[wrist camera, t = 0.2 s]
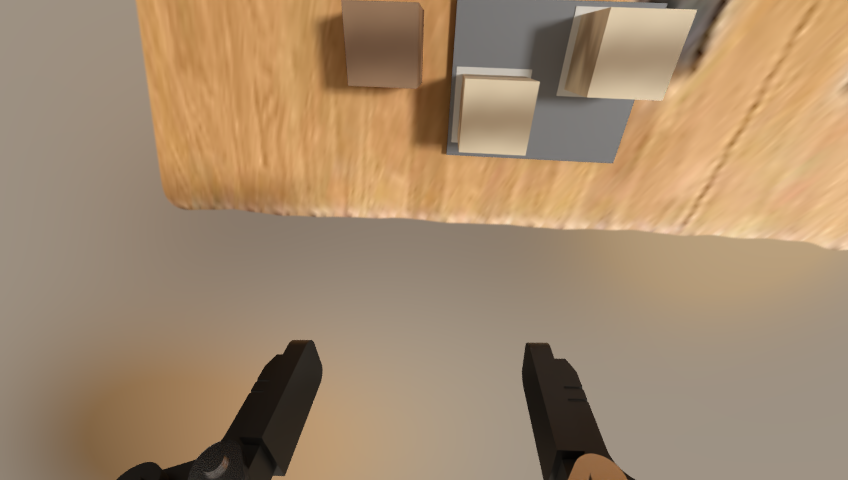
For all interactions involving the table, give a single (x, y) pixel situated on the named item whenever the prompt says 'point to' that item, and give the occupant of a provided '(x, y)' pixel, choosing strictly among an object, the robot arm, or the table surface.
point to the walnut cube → (383, 43)
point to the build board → (538, 74)
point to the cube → (627, 52)
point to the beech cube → (496, 113)
